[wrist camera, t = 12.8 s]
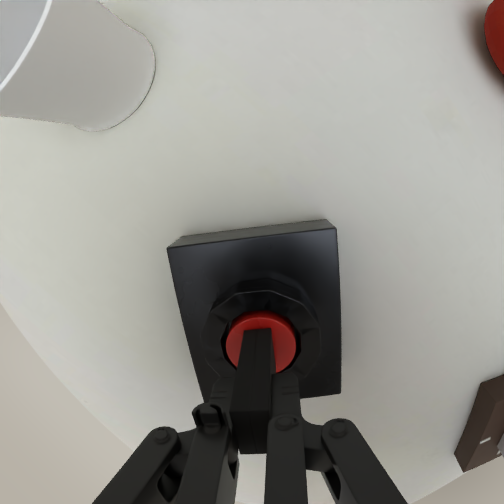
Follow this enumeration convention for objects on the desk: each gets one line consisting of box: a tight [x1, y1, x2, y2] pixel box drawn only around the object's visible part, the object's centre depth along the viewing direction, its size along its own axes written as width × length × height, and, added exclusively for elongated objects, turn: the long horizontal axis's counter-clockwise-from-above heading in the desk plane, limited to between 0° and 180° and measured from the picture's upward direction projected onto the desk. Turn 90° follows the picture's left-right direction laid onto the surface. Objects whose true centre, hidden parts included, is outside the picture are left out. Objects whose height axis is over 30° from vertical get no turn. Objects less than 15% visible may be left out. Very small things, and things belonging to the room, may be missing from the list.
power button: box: [226, 310, 296, 373], centre depth 18 cm, size 4×4×2 cm
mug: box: [0, 0, 155, 131], centre depth 13 cm, size 12×8×12 cm
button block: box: [167, 219, 341, 403], centre depth 20 cm, size 12×10×5 cm
